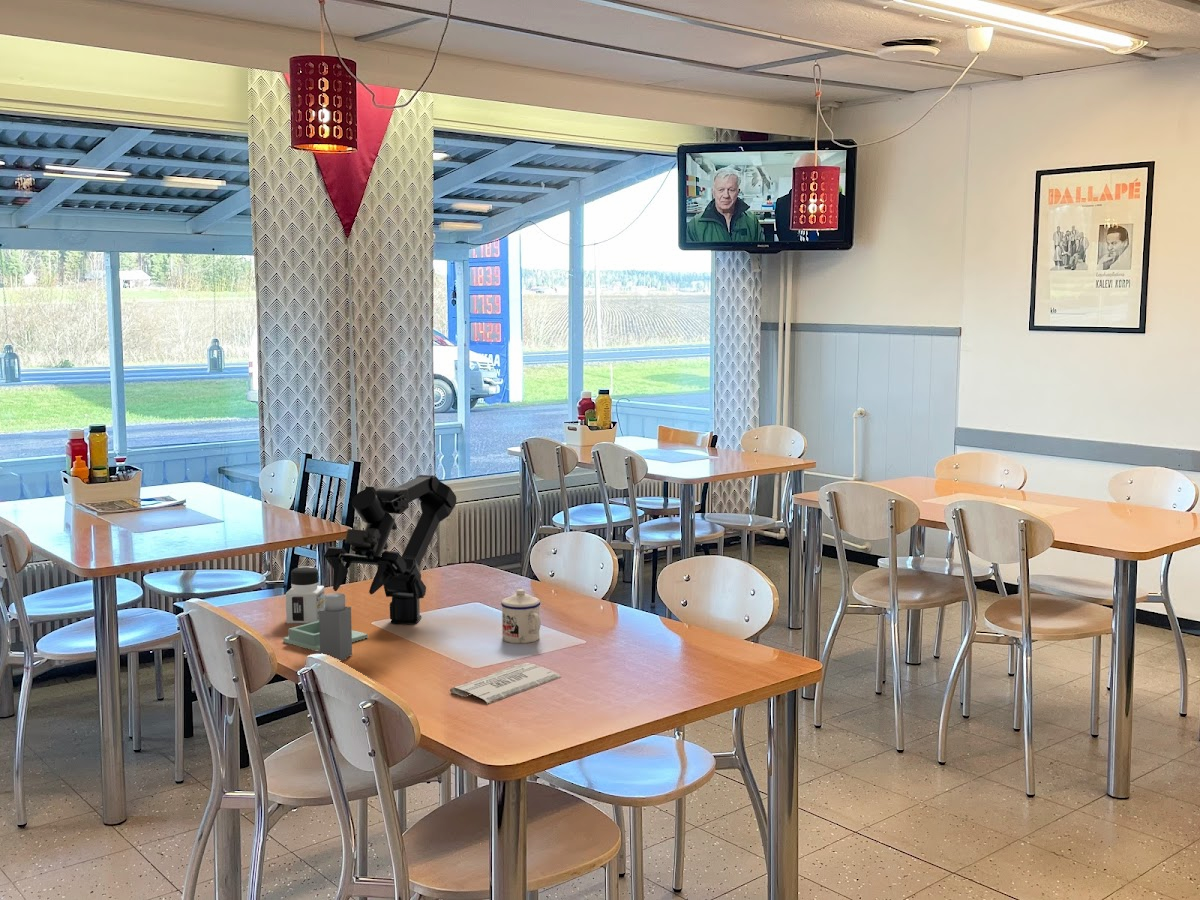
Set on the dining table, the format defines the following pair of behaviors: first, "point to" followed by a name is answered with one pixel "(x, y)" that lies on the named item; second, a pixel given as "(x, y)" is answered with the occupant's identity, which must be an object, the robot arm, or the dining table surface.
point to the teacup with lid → (520, 618)
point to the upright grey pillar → (335, 627)
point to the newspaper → (506, 682)
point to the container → (304, 596)
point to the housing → (312, 636)
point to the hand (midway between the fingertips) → (352, 591)
